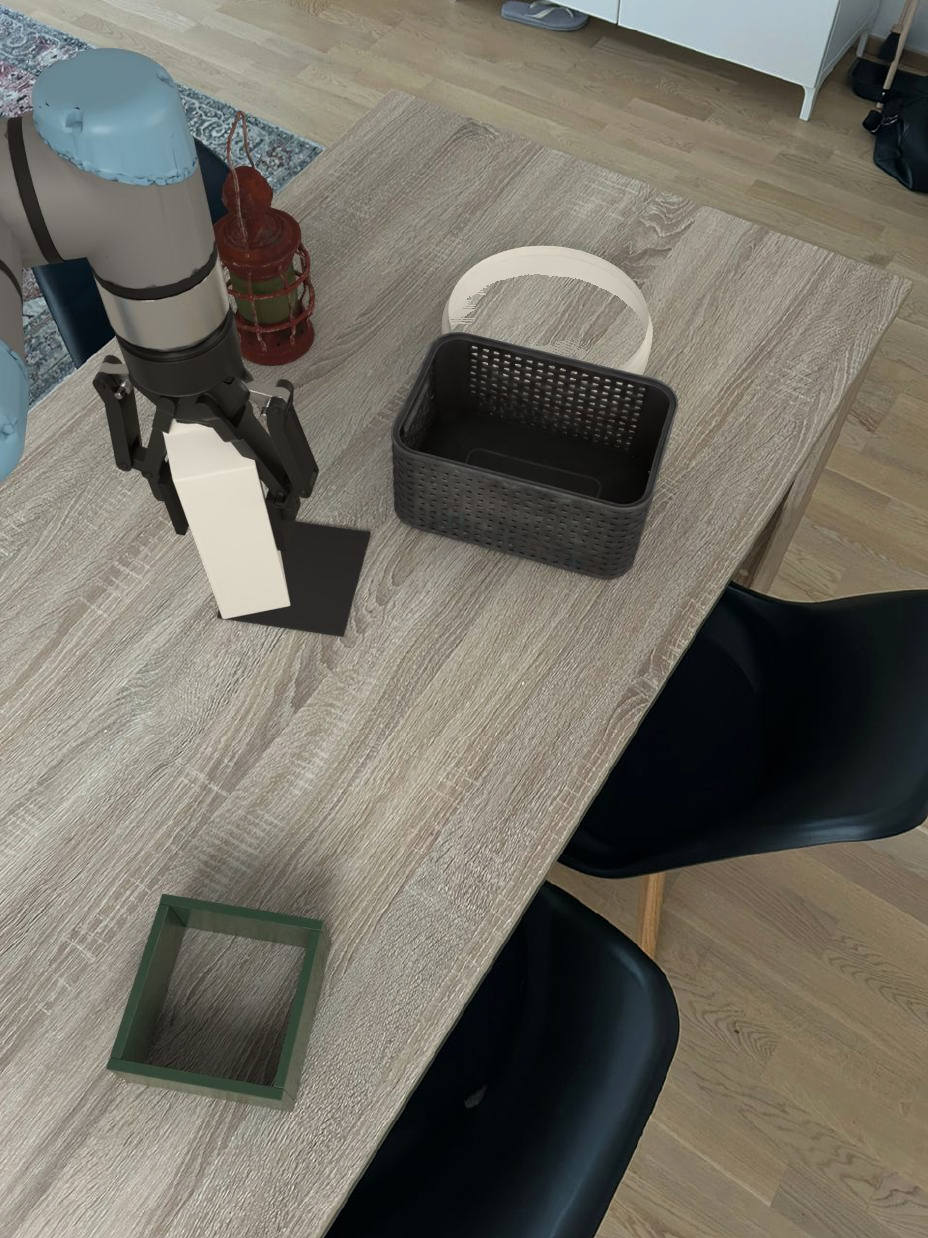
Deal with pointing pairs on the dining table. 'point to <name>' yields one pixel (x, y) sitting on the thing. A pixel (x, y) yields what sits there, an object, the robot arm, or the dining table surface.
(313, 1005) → the holder
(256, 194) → the lantern
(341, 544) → the mat
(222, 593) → the milk
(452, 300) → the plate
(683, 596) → the dining table surface
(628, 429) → the storage bin
